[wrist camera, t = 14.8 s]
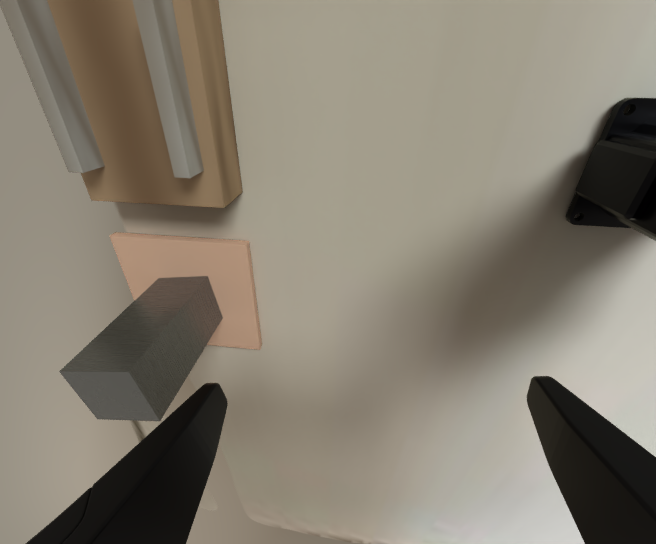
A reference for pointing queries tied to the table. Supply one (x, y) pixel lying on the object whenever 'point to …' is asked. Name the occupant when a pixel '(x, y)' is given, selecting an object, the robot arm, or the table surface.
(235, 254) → the rubber mat
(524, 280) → the table surface
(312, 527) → the table surface
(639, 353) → the table surface
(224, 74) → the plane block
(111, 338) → the dark gray rectangular block
